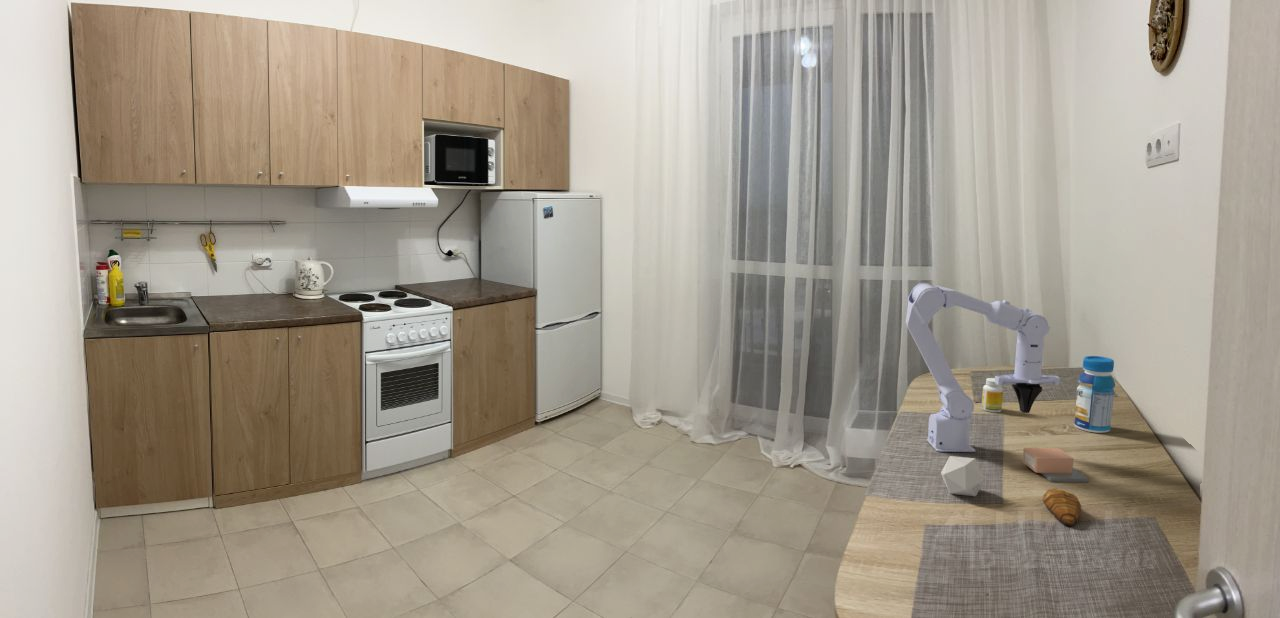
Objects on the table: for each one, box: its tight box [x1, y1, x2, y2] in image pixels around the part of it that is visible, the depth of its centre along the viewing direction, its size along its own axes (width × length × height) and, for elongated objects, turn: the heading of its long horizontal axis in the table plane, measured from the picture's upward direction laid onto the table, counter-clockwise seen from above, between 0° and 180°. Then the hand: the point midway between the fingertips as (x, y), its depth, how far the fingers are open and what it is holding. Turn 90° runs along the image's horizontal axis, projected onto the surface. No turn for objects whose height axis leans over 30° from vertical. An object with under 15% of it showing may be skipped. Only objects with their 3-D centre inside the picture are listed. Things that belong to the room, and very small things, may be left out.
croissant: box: [1042, 488, 1082, 527], centre depth 127 cm, size 14×7×5 cm, turn 159°
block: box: [1022, 447, 1075, 474], centre depth 146 cm, size 4×6×8 cm
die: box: [940, 455, 986, 497], centre depth 137 cm, size 8×9×10 cm
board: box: [1040, 467, 1089, 483], centre depth 146 cm, size 8×12×1 cm, turn 174°
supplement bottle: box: [981, 377, 1004, 413], centre depth 187 cm, size 5×5×10 cm
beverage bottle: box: [1073, 355, 1116, 434], centre depth 169 cm, size 8×8×20 cm
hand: (1024, 411), depth 156 cm, fingers closed
